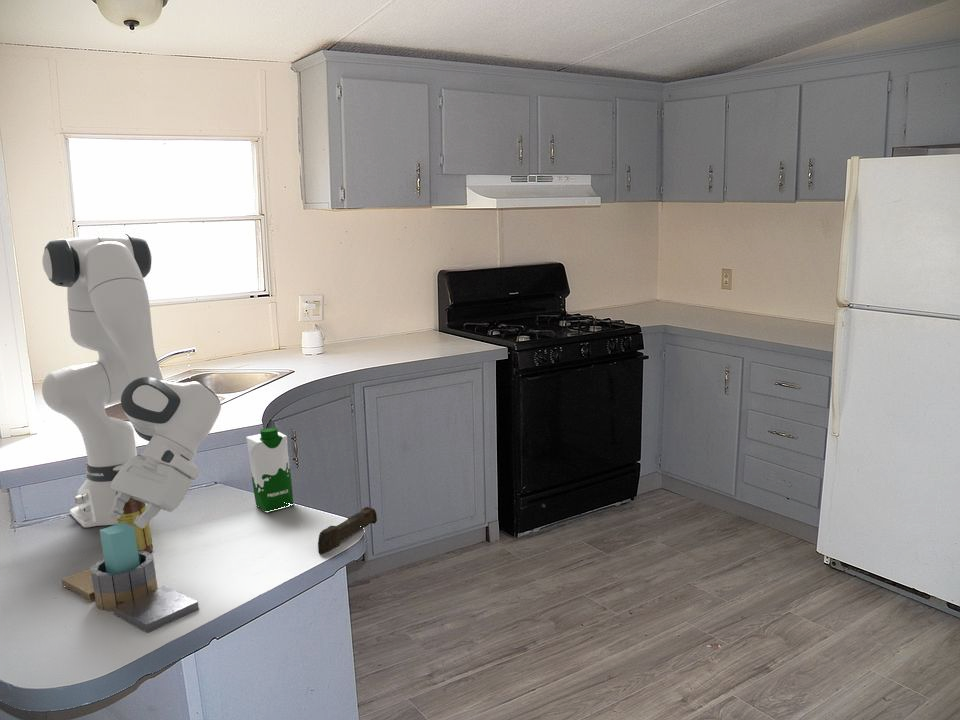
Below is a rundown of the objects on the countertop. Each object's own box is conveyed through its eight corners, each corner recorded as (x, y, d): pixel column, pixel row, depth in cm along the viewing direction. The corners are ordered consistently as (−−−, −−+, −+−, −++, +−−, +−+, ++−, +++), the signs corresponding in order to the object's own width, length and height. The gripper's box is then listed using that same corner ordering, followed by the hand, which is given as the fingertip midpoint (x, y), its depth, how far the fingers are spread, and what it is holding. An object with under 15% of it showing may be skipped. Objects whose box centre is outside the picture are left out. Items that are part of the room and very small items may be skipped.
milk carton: (264, 515, 195) (254, 435, 191) (251, 506, 202) (241, 428, 198) (298, 506, 200) (289, 427, 196) (284, 497, 207) (275, 421, 203)
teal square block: (110, 598, 156) (99, 530, 153) (133, 589, 159) (122, 522, 157) (121, 604, 153) (110, 534, 150) (144, 595, 156) (134, 526, 154)
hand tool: (364, 521, 187) (362, 502, 186) (378, 523, 185) (376, 504, 184) (309, 554, 171) (306, 533, 170) (324, 557, 169) (321, 536, 168)
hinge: (60, 586, 163) (54, 554, 161) (113, 566, 171) (108, 535, 170) (145, 633, 141) (139, 596, 140) (200, 608, 149) (195, 572, 148)
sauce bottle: (141, 545, 182) (128, 460, 178) (159, 549, 178) (146, 462, 175) (115, 556, 176) (101, 469, 172) (133, 561, 173) (120, 472, 169)
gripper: (127, 443, 165) (86, 504, 159) (181, 458, 152) (139, 525, 146) (151, 458, 169) (112, 518, 164) (205, 474, 156) (165, 539, 151)
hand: (125, 521), depth 155 cm, fingers open, 8 cm apart
